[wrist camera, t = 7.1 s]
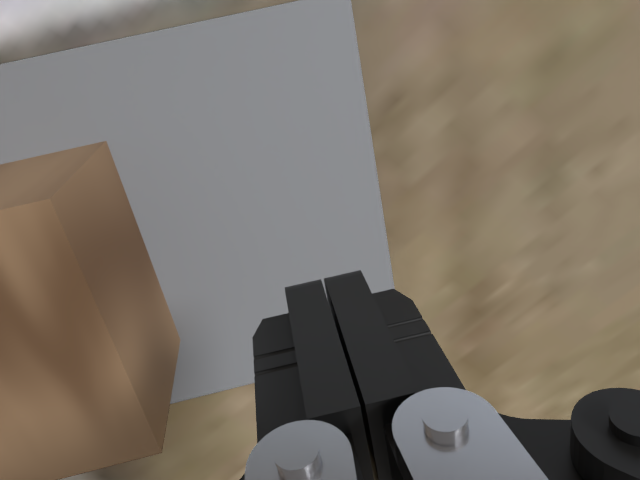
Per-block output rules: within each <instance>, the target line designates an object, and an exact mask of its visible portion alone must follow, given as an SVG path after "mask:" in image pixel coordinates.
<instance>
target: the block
mask: <svg viewBox="0 0 640 480" xmlns="http://www.w3.org/2000/svg"><path fill="white" fill-rule="evenodd" d="M179 346H180V337H179V335H178V332H177V329H176V327H175V324H174V321H173V318H172V316H171V313H170V310H169V308H168V305H167V302H166V300H165V297H164V294H163V292H162V289H161V286H160V284H159V281H158V278H157V276H156V273H155V270H154V268H153V265H152V262H151V259H150V257H149V254H148V251H147V249H146V246H145V243H144V241H143V238H142V235H141V233H140V230H139V227H138V225H137V222H136V219H135V217H134V214H133V211H132V209H131V206H130V203H129V200H128V198H127V195H126V192H125V190H124V187H123V184H122V182H121V179H120V176H119V174H118V171H117V168H116V166H115V163H114V160H113V158H112V155H111V152H110V149H109V147H108V144H107V141H103V142H99V143H94V144H90V145H85V146H81V147H76V148H72V149H67V150H63V151H58V152H54V153H49V154H45V155H40V156H36V157H32V158H27V159H23V160H18V161H14V162H9V163H5V164H0V480H58V479H62V478H66V477H70V476H74V475H78V474H82V473H85V472H89V471H93V470H97V469H101V468H105V467H109V466H113V465H117V464H120V463H124V462H128V461H132V460H136V459H140V458H144V457H148V456H152V455H155V454H159V453H162V449H163V443H164V437H165V431H166V425H167V419H168V413H169V407H170V401H171V395H172V389H173V383H174V376H175V370H176V364H177V358H178V352H179Z"/></svg>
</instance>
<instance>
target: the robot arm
mask: <svg viewBox="0 0 640 480" xmlns="http://www.w3.org/2000/svg"><path fill="white" fill-rule="evenodd" d="M324 284H325V289H326V293H325V290H324V287H323V284H322V281H321V279H319V280H315V281H311V282H306V283H302V284H297V285H293V286H289V287H285V294H286V300H287V306H288V312H289V313H286V314H282V315H278V316H273V317H269V318H265V319H262V321H261V323H260V325H259V326H258V328H257V330H256V332H255V334H254V336H253V337H252V339H253V357H254V374H255V377H254V380H255V400H256V421H257V445H256V446H255V447H254V448H253V450H252V452H251V454H250V455H249V458H248V460H247V463H246V469H245V474H244V475H243V476H242V478H241V479H240V480H640V390H635V389H627V388H609V389H602V390H598V391H595V392H592V393H590V394H588V395H586V396H584V397H583V398H582V399H580V400H579V401H578V402H577V404H576V405H575V406H574V409H573V411H572V415H571V420H545V419H521V418H515V417H509V416H506V415H502V414H499V413H497V411H496V410H495V409H494V408H493V407H492V405H491V404H490V403H489V402H487V401H486V400H485V399H483V398H482V397H480V396H478V395H477V394H474V393H472V392H469V391H467V390H466V389H465V388H464V386H463V384H462V383H461V381H460V379H459V378H458V376H457V374H456V373H455V371H454V369H453V368H452V366H451V364H450V363H449V361H448V359H447V358H446V356H445V354H444V353H443V351H442V349H441V348H440V346H439V344H438V342H437V341H436V339H435V337H434V336H433V334H431V331H430V329H429V327H428V326H427V324H426V322H425V321H424V320H423V319H422V316H421V314H420V312H419V311H418V309H417V307H416V306H415V304H414V302H413V301H412V300H411V299H410V298H408V297H406V296H405V295H403V294H401V293H400V292H398V291H396V290H395V289H390V290H385V291H381V292H377V293H371V290H370V288H369V286H368V284H367V282H366V280H365V278H364V276H363V273H362V272H361V270H358V271H354V272H350V273H345V274H341V275H336V276H332V277H328V278H324ZM326 294H327V297H326ZM327 299H328V300H327Z"/></svg>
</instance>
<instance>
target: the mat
mask: <svg viewBox="0 0 640 480" xmlns="http://www.w3.org/2000/svg"><path fill="white" fill-rule="evenodd" d="M103 141H107V144H108V147H109V149H110V152H111V155H112V158H113V160H114V163H115V166H116V168H117V171H118V174H119V176H120V179H121V182H122V184H123V187H124V190H125V192H126V195H127V198H128V200H129V203H130V206H131V209H132V211H133V214H134V217H135V219H136V222H137V225H138V227H139V230H140V233H141V235H142V238H143V241H144V243H145V246H146V249H147V251H148V254H149V257H150V259H151V262H152V265H153V268H154V270H155V273H156V276H157V278H158V281H159V284H160V286H161V289H162V292H163V294H164V297H165V300H166V302H167V305H168V308H169V310H170V313H171V316H172V318H173V321H174V324H175V327H176V329H177V332H178V335H179V337H180V346H179V352H178V358H177V364H176V370H175V376H174V383H173V389H172V395H171V401H170V404H172V403H176V402H180V401H184V400H188V399H192V398H196V397H200V396H204V395H208V394H212V393H216V392H220V391H224V390H228V389H232V388H236V387H239V386H243V385H247V384H251V383H255V380H254V377H255V374H254V357H253V339H252V337H253V336H254V334H255V332H256V330H257V328H258V326H259V325H260V323H261V321H262V319H265V318H269V317H273V316H278V315H282V314H286V313H289V312H288V306H287V300H286V294H285V287H289V286H293V285H297V284H302V283H306V282H311V281H315V280H319V279H321V281H322V284H323V287H324V290H325V293H326V289H325V284H324V278H328V277H332V276H336V275H341V274H345V273H350V272H354V271H358V270H361V272H362V273H363V276H364V278H365V280H366V282H367V284H368V286H369V288H370V290H371V293H377V292H381V291H385V290H390V289H395V288H394V282H393V275H392V268H391V262H390V255H389V249H388V242H387V235H386V229H385V222H384V216H383V209H382V203H381V196H380V189H379V183H378V176H377V170H376V163H375V156H374V150H373V143H372V137H371V130H370V123H369V117H368V110H367V104H366V97H365V91H364V84H363V77H362V71H361V64H360V58H359V51H358V44H357V38H356V31H355V25H354V18H353V12H352V5H351V0H299V1H294V2H289V3H285V4H280V5H275V6H271V7H266V8H261V9H257V10H252V11H247V12H243V13H238V14H233V15H228V16H224V17H219V18H214V19H210V20H205V21H200V22H196V23H191V24H186V25H182V26H177V27H172V28H168V29H163V30H158V31H153V32H149V33H144V34H139V35H135V36H130V37H125V38H121V39H116V40H111V41H107V42H102V43H97V44H92V45H88V46H83V47H78V48H74V49H69V50H64V51H60V52H55V53H50V54H46V55H41V56H36V57H32V58H27V59H22V60H17V61H13V62H8V63H3V64H0V164H5V163H9V162H14V161H18V160H23V159H27V158H32V157H36V156H40V155H45V154H49V153H54V152H58V151H63V150H67V149H72V148H76V147H81V146H85V145H90V144H94V143H99V142H103ZM326 297H327V294H326ZM327 300H328V299H327Z"/></svg>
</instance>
